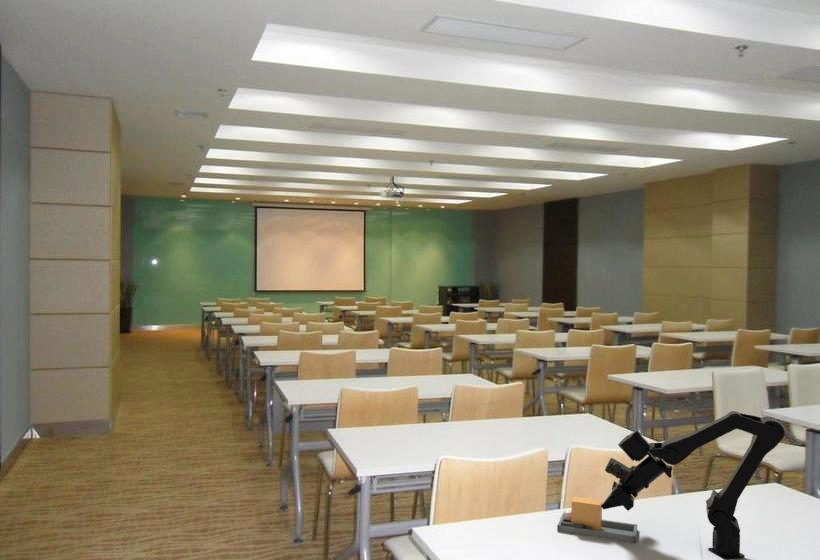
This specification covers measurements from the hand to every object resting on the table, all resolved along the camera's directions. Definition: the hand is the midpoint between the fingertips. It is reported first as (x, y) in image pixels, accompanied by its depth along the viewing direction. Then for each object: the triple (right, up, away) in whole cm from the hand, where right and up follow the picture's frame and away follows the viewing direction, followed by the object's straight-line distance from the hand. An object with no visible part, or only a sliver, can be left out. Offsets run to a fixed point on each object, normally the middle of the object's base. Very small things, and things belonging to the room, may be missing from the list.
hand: (602, 507), depth 188 cm
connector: (-5, -7, +2) cm, 8 cm away
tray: (-1, -8, +1) cm, 8 cm away
